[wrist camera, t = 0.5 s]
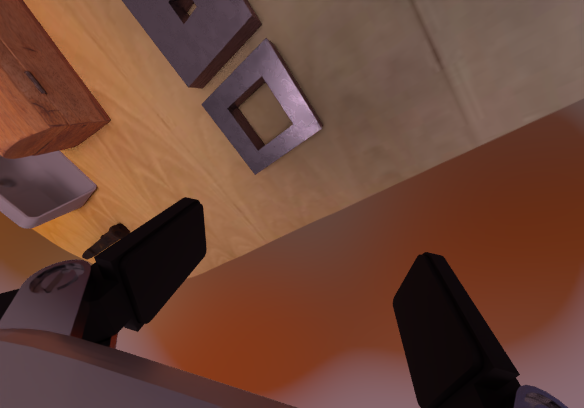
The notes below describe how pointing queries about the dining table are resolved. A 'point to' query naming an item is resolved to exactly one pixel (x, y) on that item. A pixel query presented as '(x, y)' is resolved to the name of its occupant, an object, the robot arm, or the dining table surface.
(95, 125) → the wooden box
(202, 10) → the narrow-bore block
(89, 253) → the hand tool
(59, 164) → the tank
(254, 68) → the wide-bore block
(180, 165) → the dining table surface
